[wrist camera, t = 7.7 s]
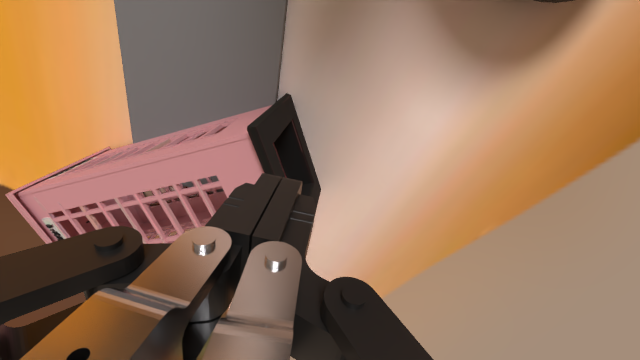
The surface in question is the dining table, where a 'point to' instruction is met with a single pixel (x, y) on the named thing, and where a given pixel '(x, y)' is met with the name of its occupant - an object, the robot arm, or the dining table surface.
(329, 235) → the dining table surface
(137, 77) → the mat
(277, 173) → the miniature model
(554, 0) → the boot
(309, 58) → the dining table surface
